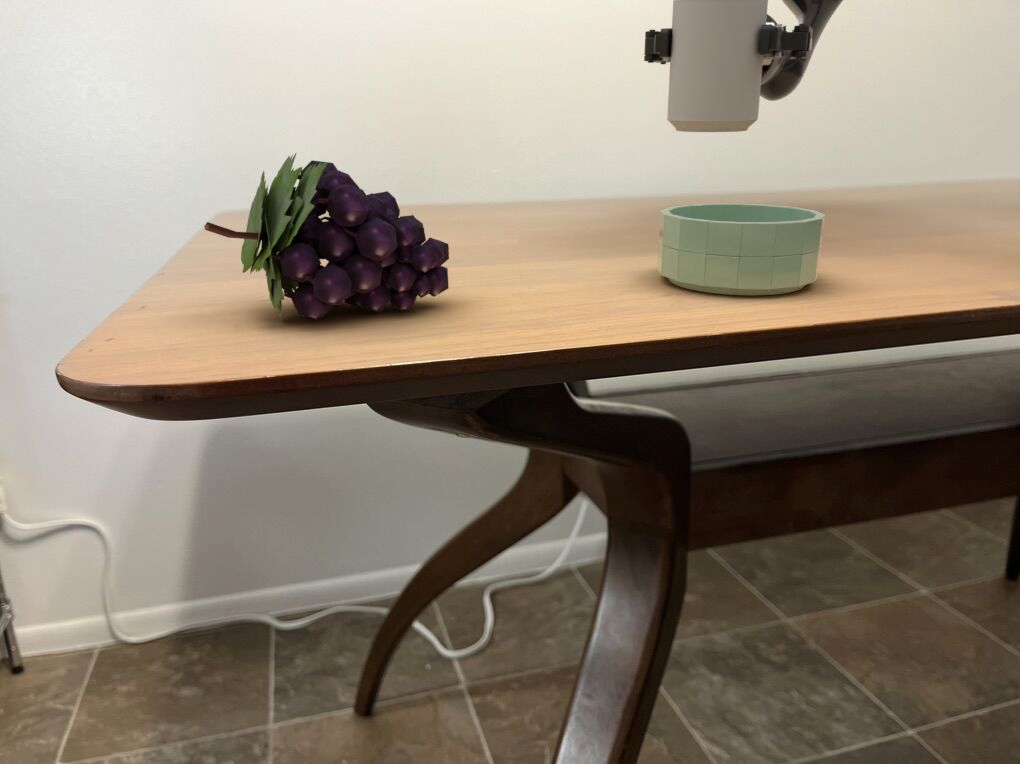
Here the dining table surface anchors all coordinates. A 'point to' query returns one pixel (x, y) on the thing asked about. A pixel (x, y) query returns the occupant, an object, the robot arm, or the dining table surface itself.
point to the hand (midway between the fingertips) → (713, 40)
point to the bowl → (740, 247)
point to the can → (715, 64)
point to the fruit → (336, 244)
